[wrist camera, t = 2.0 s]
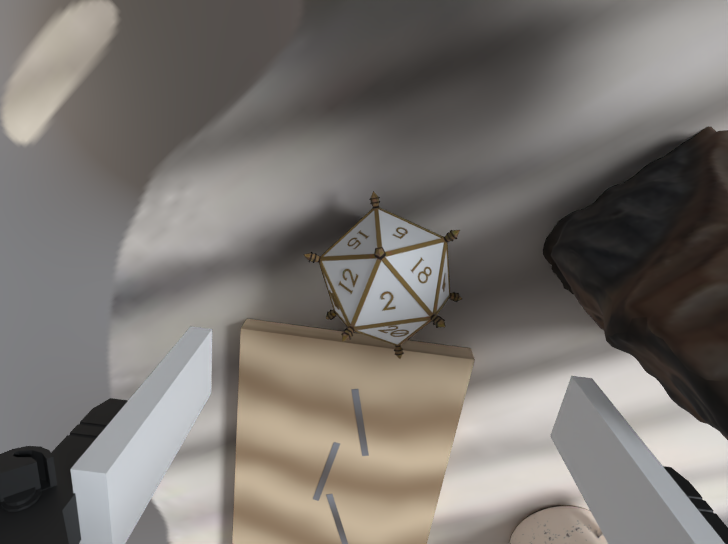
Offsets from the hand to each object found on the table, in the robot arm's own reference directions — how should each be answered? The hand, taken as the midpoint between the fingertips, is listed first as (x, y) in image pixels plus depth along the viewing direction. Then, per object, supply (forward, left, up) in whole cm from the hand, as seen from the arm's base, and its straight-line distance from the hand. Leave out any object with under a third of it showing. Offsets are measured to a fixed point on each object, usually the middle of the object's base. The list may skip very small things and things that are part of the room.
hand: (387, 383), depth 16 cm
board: (+17, -1, -14) cm, 22 cm away
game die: (0, 0, -14) cm, 14 cm away
